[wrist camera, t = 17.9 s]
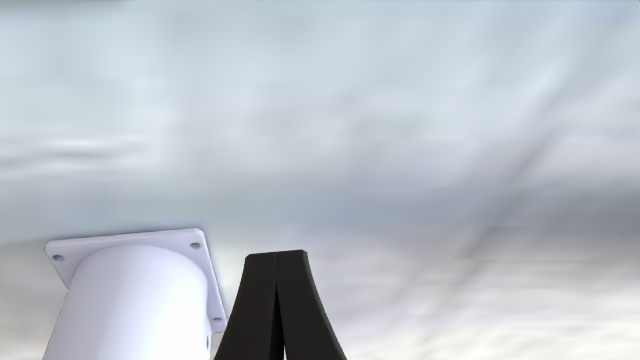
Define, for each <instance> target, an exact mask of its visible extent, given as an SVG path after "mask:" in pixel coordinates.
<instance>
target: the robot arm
mask: <svg viewBox="0 0 640 360" xmlns="http://www.w3.org/2000/svg"><path fill="white" fill-rule="evenodd" d="M194 243H198V244H194ZM44 252H45V254H46V255H47V257H48V258H49V260H50V262H51V263H52V265H53V266H54V268H55V270H56V271H57V273H58V274H59V276H60V278H61V279H62V281H63V282H64V284H65V286H66V287H67V289H68V292H67V294H66V297H65V300H64V302H63V305H62V308H61V310H60V313H59V316H58V318H57V321H56V324H55V327H54V329H53V332H52V335H51V337H50V340H49V343H48V345H47V348H46V351H45V353H44V356H43V359H42V360H210V349H211V337H212V333H220V332H224V331H225V332H224V335H223V338H222V341H221V343H220V346H219V348H218V351H217V353H216V356H215V358H214V360H284V345H285V352H286V359H287V360H347V358H346V357H345V355H344V353H343V350H342V348H341V346H340V344H339V342H338V340H337V338H336V336H335V333H334V331H333V329H332V327H331V324H330V322H329V320H328V317H327V315H326V313H325V310H324V308H323V305H322V303H321V300H320V297H319V295H318V292H317V289H316V286H315V283H314V280H313V277H312V273H311V270H310V265H309V261H308V255H307V252H305V251H304V250H292V251H280V252H268V253H257V254H249V255H248V256H247V257H246V258H245V264H244V269H243V274H242V278H241V282H240V286H239V290H238V293H237V296H236V300H235V303H234V306H233V309H232V313H231V315H230V318H229V321H228V323H227V319H226V315H225V311H224V308H223V304H222V300H221V296H220V293H219V289H218V285H217V281H216V278H215V274H214V270H213V266H212V263H211V259H210V255H209V251H208V248H207V244H206V240H205V236H204V233H203V232H202V231H201V230H200V229H197V228H189V229H177V230H166V231H155V232H144V233H132V234H121V235H110V236H98V237H87V238H76V239H65V240H53V241H49V242H48V243H47V244H46V246H45V248H44ZM59 255H60V256H59Z"/></svg>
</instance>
